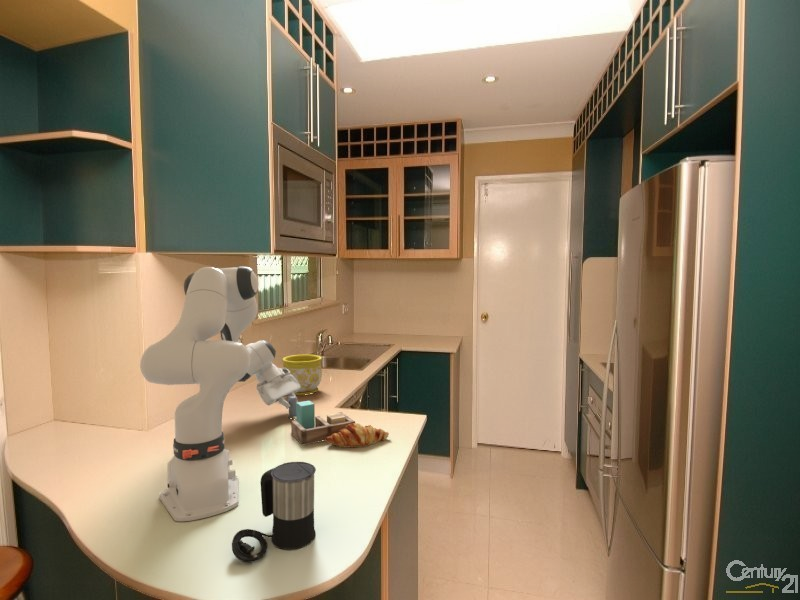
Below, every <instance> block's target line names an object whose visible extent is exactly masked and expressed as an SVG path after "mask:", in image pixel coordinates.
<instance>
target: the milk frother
mask: <svg viewBox="0 0 800 600" xmlns="http://www.w3.org/2000/svg"><path fill="white" fill-rule="evenodd" d="M316 471H317V469H316V467H315V465H313V464H311V463H309V462H304V461H290V462H289V461H288V462H283V463H282V464H279V465H277V466H275V467H273V468H271V469H269V470H267V471H265V472H264V473H263V474H262V476H261V477H260V482H259V483H260V495H261V509H262V510H261V511H262V516H264V517H265V518H267V517H269V516H273V517H272V518H273V519H272V531H271V532H272V534H266V533H264V532H261V531H260V530H256V529H250V528H245V529H241V530H239V531H237V532H236V533H235V534H234V536H233V538H232V541H231V551H232V553H233V555H234V556H235V558H236V559H238V560H239V561H241V562H245V563H252V562H253V563H254V562H256V561H259V560H260V559H262V558H264V556H265V555H266V553H267V550H268V542H267V540H266V538H270V539H271V543H272V544H273V545H274V546H275V547H276V548H278V549H282V550H286V551H287V550H291V549H292V550H298V549H301V548H300V547H302V548H304V547H306V546H308V545H309V544H311V543H312V542H313V541H314V539H315V538H316V530H315V474H316ZM247 537H250V538H254V539H255V540H257V541H258V542H259V544H260V550H259V552H257V553H255V552H254V551H255V549H256V546H255V545H253V546H252V545H250V544H248V543H246V542H244V541H243V540H242V539H244V538H247ZM265 537H266V538H265ZM314 537H315V538H314ZM312 540H313V541H312ZM311 541H312V542H311ZM310 542H311V543H310ZM307 544H308V545H307ZM305 545H306V546H305ZM303 546H304V547H303ZM297 548H298V549H297Z"/></svg>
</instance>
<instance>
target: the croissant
mask: <svg viewBox="0 0 800 600" xmlns="http://www.w3.org/2000/svg"><path fill="white" fill-rule="evenodd" d="M389 434H390V433H389V432H388V431H385V430H383V429H381V428H376V427H374V426H372V425H371V424H369V425H365V426H363V425H362V424H360V423H356V422H355V423H353V424H348V425H347V426H346V427H345V429H341V430H340V431H339V432H338V433H334V434H332V435H331V436H330V437H326V440H325V441H326V442H327V443H328V444H330V445H334V446H337V447H339V448H340V447H341V448H357V447H359V446H361V447H367V446H369V445H372V444H376V443H378V442H380V441H384V440H386V439H388V437H389ZM366 445H367V446H366ZM359 448H360V447H359Z"/></svg>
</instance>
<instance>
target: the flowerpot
mask: <svg viewBox="0 0 800 600" xmlns="http://www.w3.org/2000/svg"><path fill="white" fill-rule="evenodd" d="M322 358H323V357H322V356H320V355H317V354H294V355H293V354H292V355H287V356H284V357H283V358H282V362H283V369H288V370H289V371H290V373H289V374H291V375H292V376H293V377H294V378H295V379H296V380H297V381H298V383H299V384H300V387H301V388H300V389H299V391H298V392H296V393H295V395H305V394H310V393H314V392H316V393H317V391H319V385H320V383H321V381H322V377H323V374H322V362H321V361H322V360H323V359H322ZM314 394H315V393H314Z"/></svg>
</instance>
